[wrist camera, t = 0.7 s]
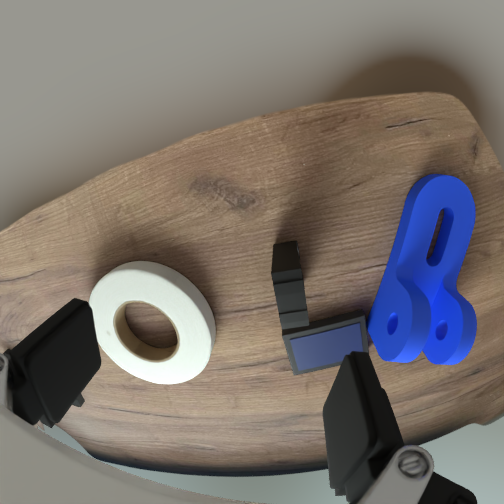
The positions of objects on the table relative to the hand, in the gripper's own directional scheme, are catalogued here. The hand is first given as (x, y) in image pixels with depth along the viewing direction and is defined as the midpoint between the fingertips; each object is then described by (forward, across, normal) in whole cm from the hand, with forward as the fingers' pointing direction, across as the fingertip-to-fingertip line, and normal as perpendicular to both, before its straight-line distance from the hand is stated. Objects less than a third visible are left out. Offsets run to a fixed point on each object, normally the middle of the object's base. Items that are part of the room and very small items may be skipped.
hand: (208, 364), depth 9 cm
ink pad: (+19, -10, +11) cm, 24 cm away
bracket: (+20, -18, 0) cm, 27 cm away
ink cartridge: (+20, -4, +3) cm, 20 cm away
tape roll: (+20, +10, +13) cm, 25 cm away
